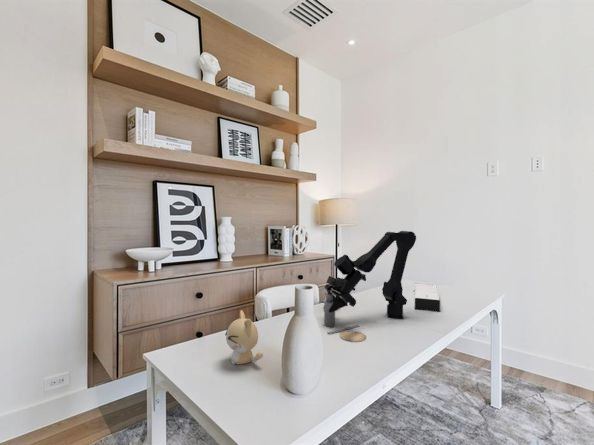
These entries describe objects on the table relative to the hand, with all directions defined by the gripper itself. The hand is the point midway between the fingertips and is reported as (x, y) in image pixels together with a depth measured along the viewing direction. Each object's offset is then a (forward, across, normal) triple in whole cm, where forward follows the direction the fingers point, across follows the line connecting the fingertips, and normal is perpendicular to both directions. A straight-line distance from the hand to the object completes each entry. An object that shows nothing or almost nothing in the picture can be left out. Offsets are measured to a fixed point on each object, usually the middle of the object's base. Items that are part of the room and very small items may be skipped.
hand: (326, 310), depth 132 cm
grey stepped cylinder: (+4, 0, +6) cm, 7 cm away
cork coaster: (+2, +14, +8) cm, 16 cm away
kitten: (+32, +18, -23) cm, 44 cm away
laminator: (-41, -14, +51) cm, 67 cm away
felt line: (+1, +6, +8) cm, 10 cm away
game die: (-4, -20, +14) cm, 25 cm away
